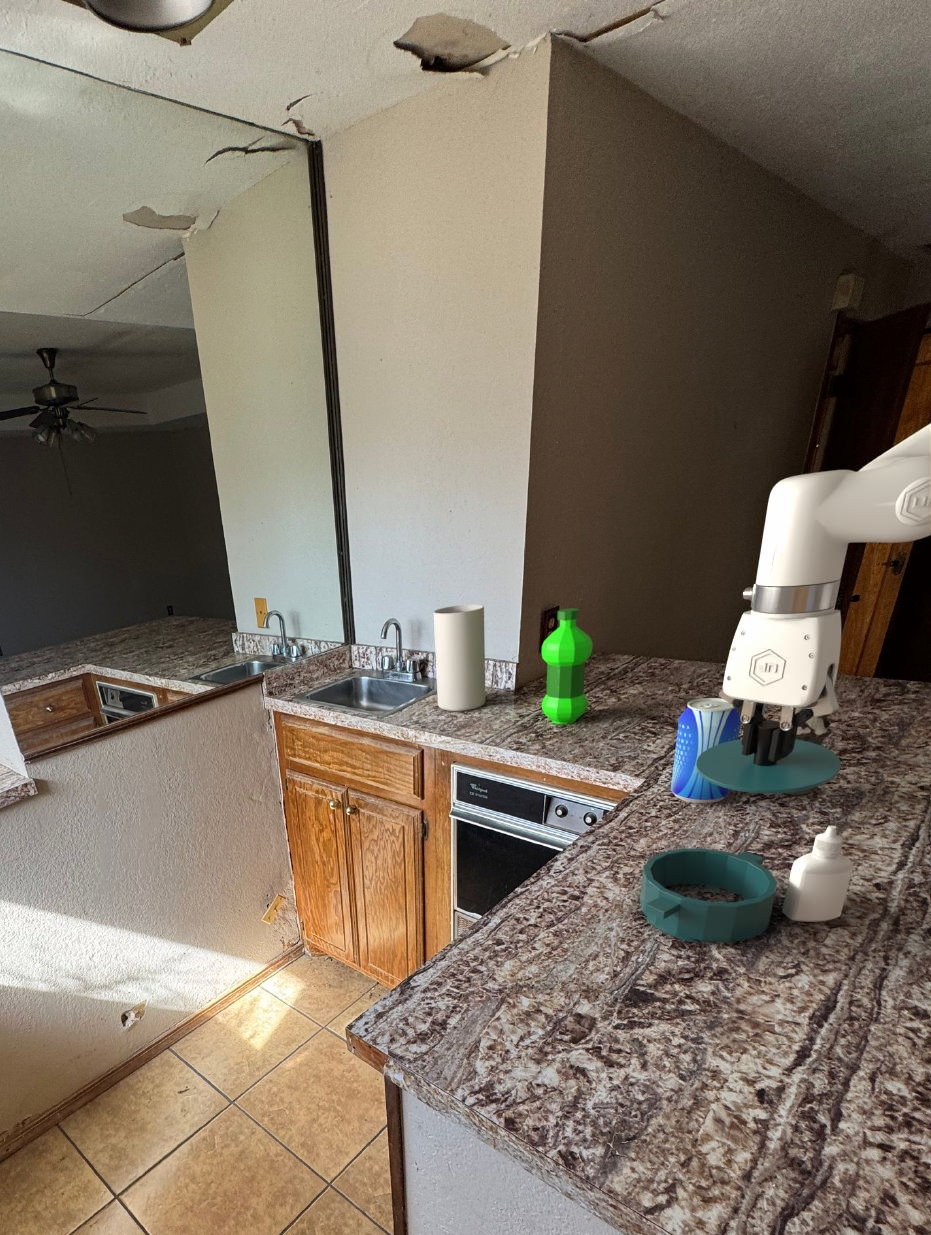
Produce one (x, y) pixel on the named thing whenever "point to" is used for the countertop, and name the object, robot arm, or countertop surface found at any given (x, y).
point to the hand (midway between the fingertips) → (765, 754)
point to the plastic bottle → (566, 669)
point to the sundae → (813, 736)
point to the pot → (702, 916)
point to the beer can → (701, 747)
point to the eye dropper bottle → (819, 881)
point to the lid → (768, 765)
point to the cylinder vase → (460, 657)
